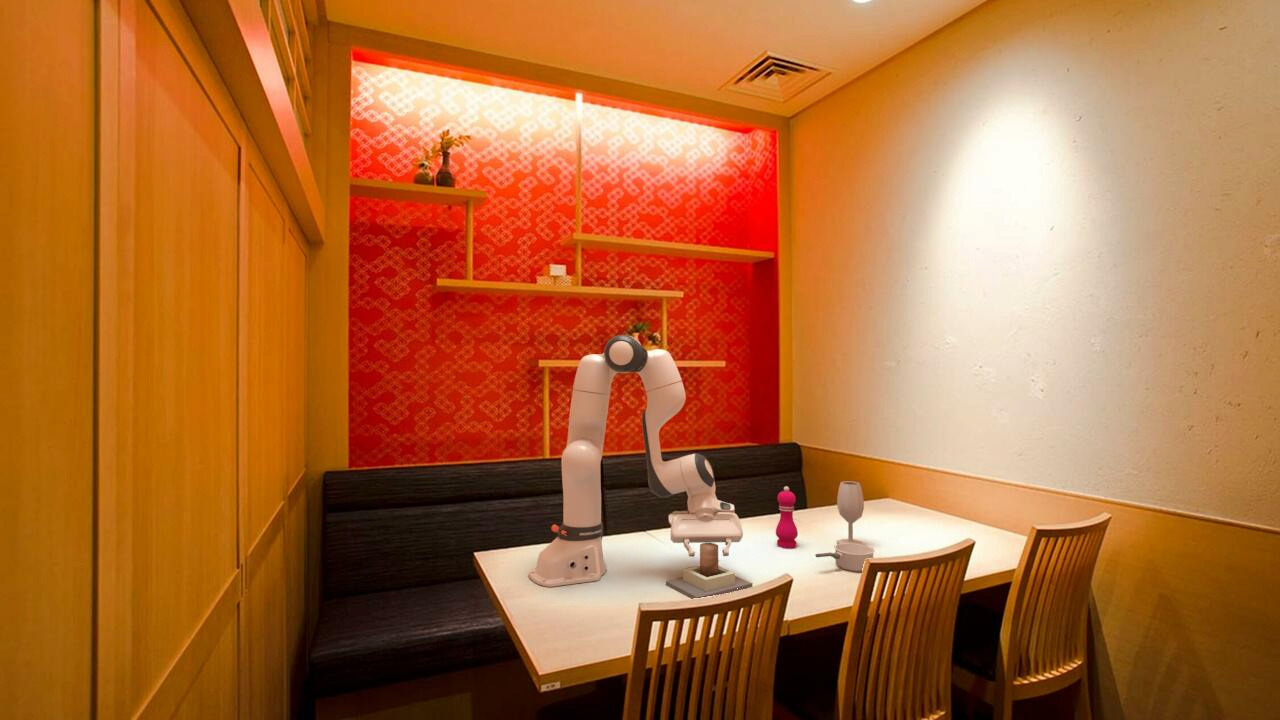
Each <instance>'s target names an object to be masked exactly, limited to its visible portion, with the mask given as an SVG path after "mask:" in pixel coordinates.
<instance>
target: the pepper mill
mask: <svg viewBox="0 0 1280 720" xmlns="http://www.w3.org/2000/svg"><path fill="white" fill-rule="evenodd" d="M776 498H777V502H778V503H779V504H778V507H779V508H778V510H780V517H779V521H778V523H777V525H776V528H775V536H776V537H777V541H776V545H777V547H778V548H781V547H782V549H787V548H790V549H795V548H796V547H797V541H796V538H797V537H798V534H799V533H798V528H797V525H796V524H795V521H794V517H793V513H794V511H795V505H794V504H795V503H796V500H797V499H796V495H795V494H794V493H793V492H792V491H790V488H789V486H787V485H786V486H784V487H783V490H782V491H780V492H778V494H777V497H776Z"/></svg>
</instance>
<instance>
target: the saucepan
mask: <svg viewBox="0 0 1280 720" xmlns="http://www.w3.org/2000/svg"><path fill="white" fill-rule="evenodd" d="M833 548H834V549H835V550H834V551H835V552H821V553H815V558H825V557H831V558H833V559H834V560H835V564H836V566H839V567H840V568H841V567H842V568H841V569H843V570H845V569H846V570H845V571H849V570H850V571H851V572H858V573H859V572H861V571H862V568H863V564H864V561H865V559H866V558H873V559H874V553H875V549H874V548H873V547H870V546H868V545H866V544H865V545H860V544H852V543H843V544H838V543H836V544H834V546H833ZM850 571H849V572H850Z"/></svg>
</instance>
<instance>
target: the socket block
mask: <svg viewBox="0 0 1280 720" xmlns="http://www.w3.org/2000/svg"><path fill="white" fill-rule="evenodd" d="M682 572H683V573H682V574H683V575H682V577H679V578H678V577H677V578H674V579H670V580H665V585H666V586H667V585H668V586H667V587H669V586H670V587H669V588H671V589H673V590H674V591H677V592H678V593H680V594H683V595H685V596H686V597H689V598H690V599H692V600H694V599H693V598H701V597H707V596H713V595H719V594H724V593H728V592H731V593H733V592H732V591H735V592H737V591H736V590H739V591H742V590H741V589H743V590H746V589H749V588H748V587H750V588H752V587H753V582H750V581H748V580H746V579H743V578H741V577H739V576H736V573H735V572H734V571H732V570H729V569H726V568H724V567H722V566H719V565H718V575H714V576H710V577H705V576H703V575H701V574H700V565H697V566H693V567H688V568H683V569H682ZM751 586H752V587H751ZM737 588H738V589H737ZM745 588H746V589H745ZM728 594H729V593H728ZM724 595H725V594H724Z"/></svg>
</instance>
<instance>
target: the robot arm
mask: <svg viewBox="0 0 1280 720" xmlns="http://www.w3.org/2000/svg"><path fill="white" fill-rule="evenodd" d="M576 369H577V370H576V371H575V372H576V374H575V377H574V381H573V385H572V388H573V389H572V394H571V402H570V409H569V415H568V416H569V417H568V431H567V439H566V440H567V441H566V447H565V448H564V449H563V451H562V454H561V478H562V479H561V480H562V493H563V494H562V495H563V511H562V513H563V519H562V520H563V522H562V523H561V525H560V526H559V525H557V524H552V526H551V531H552V532H554V533H557V536H556V537H555V539H553V540H552V541H551V543H549V544H548V545H547V546H546V547H545V548H543V550H542V551H540V552H539V554H538V557H537V561H536V567H535V568H531V569H530V570H529V571H528V577H529V579H530V580H531V581H532V582H534V583H535V584H538V585H540V586H543V587H547V588H548V587H549V588H550V587H552V588H553V587H559V586H566V585H574V584H581V583H589V582H596V581H600V580H601V578H602V576H603V575H604V574H606V573H607V571H608V570H607V567H606V563H605V558H604V553H603V543H602V542H603V536H604V535H603V522H602V489H601V488H602V485H601V461H602V458H603V453H604V444H605V443H604V442H605V435H606V429H607V428H606V427H607V421H608V420H607V419H608V410H609V406H610V405H609V404H610V398H611V389H612V384H613V379H614V378H615V376H616V375H620V374H628V373H636V374H637V375H639V376H640V379H641V381H642V383H643V385H644V386H643V387H644V390H645V392H646V397H647V402H646V403H647V405H646V408H645V409H644V411H643V412H642V414H641V415H642V417H641V425H642V427H641V428H642V435H643V445H644V450H645V451H644V452H645V456H646V457H645V458H646V466H647V468H646V469H647V481H648V486H649V490H650V492H651V493H652V494H654V495H655V496H657V497H659V498H662V499H665V498H666V499H667V498H669V497H671V496H674V495H675V494H681V493H684V492H686V494H687V510H680V511H679V510H674V511H672V512H671V513H669V514H668V518H667V519H668V524H669V525H670V541H672V543H674V544H679V543H680V544H683V547H684V548H685V550H686V551H687V552H688V557H691V558H692V557H694V558H695V553H696V552H695V548H694V547H692V546H691V545H690V544H692V543H693V544H694V543H695V544H696V543H698V544H699V543H700V544H702V543H725V546H726V547H722V556H723V557H730V556H729V555H730V550H729V549H730V547H731V544H732V543H740V542H741V541H742V539H743V537H744V532H743V526H742V522H741V520H740V518H739V515H737V513H735V510H736V509H735V505H734V504H732V503H730V502H729V503H728V502H725V501H722V500H721V499H720V500H719V499H718V497H717V495H716V489H717V487H716V483H715V473H714V469H713V466H712V464H711V462H710V460H709V459H708V458H706V457H705V456H704V455H702V454H700V453H692V454H687V455H684V456H681V457H678V458H674V459H670V460H667V461H663V458H662V451H661V444H660V435H659V434H660V432H661V431H660V430H661V428H662V427H663V426H664V425H665V424H666V423H667V422H668V421H669V420H671V419H672V418H673V417H674V416H676V415H677V414H678V413H679V412H680V411H681V410H682V409H683V407H684V405H685V402H686V399H687V397H686V396H687V395H686V390H685V387H684V383H683V380H682V377H681V374H680V372H679V369H678V367H677V364H676V363H675V360H674V358H673V357H672V355H671V353H670V352H669V351H668V350H665V349H663V348H662V349H661V348H656V349H652V350H647V349H646V348H645V347H644V346H643V345H642V344H641V342H640V341H639V340H638V339H637V338H635V337H634V336H631V335H628V334H619V335H616V336H613V337H611V338H610V339H609V340H608V341H607V343H606V345H605V347H604V351H603V353H601V354H600V353H599V354H594V353H592V354H588V355H587V354H586V355H585V356H583V357H582V358H581V359H580V360H579V363H578V366H577V368H576Z"/></svg>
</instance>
